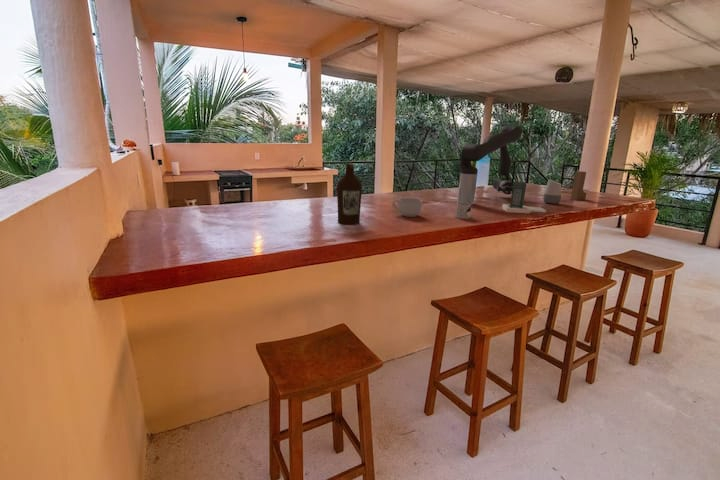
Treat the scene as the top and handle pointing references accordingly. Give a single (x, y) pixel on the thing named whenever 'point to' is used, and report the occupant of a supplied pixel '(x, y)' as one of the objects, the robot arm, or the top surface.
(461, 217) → the mug
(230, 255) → the top surface
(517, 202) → the can
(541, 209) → the white rectangular plate
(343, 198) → the olive oil
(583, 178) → the wooden block
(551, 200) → the smart speaker
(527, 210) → the well rim
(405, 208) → the teacup
